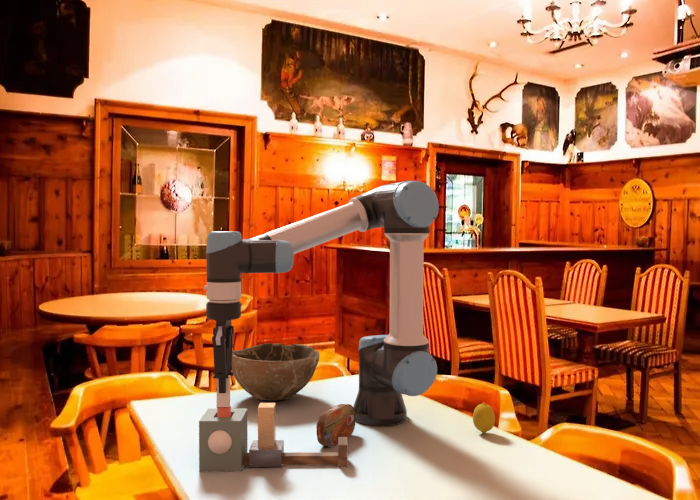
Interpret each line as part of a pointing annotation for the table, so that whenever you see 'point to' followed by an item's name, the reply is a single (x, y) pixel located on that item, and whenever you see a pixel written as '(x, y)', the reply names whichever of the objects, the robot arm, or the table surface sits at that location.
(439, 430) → the table surface
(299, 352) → the bowl
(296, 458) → the rail
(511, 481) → the table surface
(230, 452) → the grey hole block
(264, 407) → the block
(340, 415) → the tin
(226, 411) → the red rounded peg
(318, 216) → the robot arm
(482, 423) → the lemon
